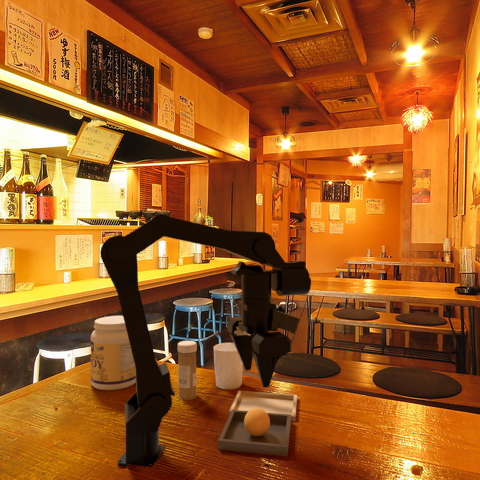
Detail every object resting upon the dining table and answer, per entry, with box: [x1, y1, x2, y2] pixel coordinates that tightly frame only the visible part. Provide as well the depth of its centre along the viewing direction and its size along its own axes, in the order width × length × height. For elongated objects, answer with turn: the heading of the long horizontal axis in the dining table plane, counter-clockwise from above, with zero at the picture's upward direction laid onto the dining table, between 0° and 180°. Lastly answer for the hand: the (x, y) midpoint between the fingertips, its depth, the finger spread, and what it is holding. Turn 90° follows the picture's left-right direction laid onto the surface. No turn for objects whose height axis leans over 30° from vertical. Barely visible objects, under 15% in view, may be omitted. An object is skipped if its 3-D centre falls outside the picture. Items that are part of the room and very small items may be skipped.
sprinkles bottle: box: [177, 340, 198, 401], centre depth 92 cm, size 5×5×14 cm
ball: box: [244, 408, 270, 437], centre depth 74 cm, size 5×5×5 cm
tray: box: [228, 390, 298, 422], centre depth 86 cm, size 11×14×2 cm
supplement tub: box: [90, 315, 136, 391], centre depth 102 cm, size 12×12×17 cm
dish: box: [217, 410, 292, 457], centre depth 74 cm, size 12×12×2 cm
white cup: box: [213, 342, 244, 390], centre depth 101 cm, size 8×8×10 cm
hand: (256, 378), depth 74 cm, fingers open, 9 cm apart
